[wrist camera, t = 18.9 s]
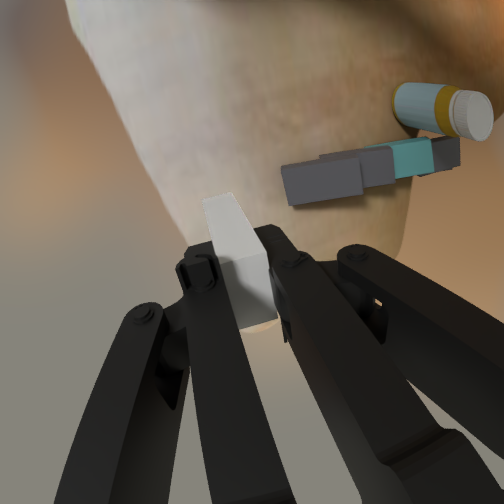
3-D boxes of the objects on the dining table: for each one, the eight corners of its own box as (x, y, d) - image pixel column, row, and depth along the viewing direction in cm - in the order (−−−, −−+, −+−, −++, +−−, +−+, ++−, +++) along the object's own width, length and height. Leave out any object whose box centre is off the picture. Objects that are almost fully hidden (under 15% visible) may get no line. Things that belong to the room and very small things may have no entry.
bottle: (418, 80, 38) (492, 87, 25) (424, 122, 41) (496, 140, 28) (385, 84, 37) (461, 90, 24) (393, 129, 41) (466, 149, 28)
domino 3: (372, 183, 42) (434, 171, 39) (366, 150, 40) (430, 139, 37) (370, 178, 44) (429, 167, 41) (363, 147, 41) (425, 136, 38)
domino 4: (420, 176, 42) (460, 165, 43) (418, 145, 39) (459, 137, 40) (412, 173, 44) (452, 162, 44) (410, 143, 41) (451, 134, 42)
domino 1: (288, 206, 41) (363, 194, 39) (280, 170, 38) (358, 157, 36) (289, 200, 43) (360, 188, 40) (281, 166, 40) (355, 153, 38)
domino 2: (326, 193, 41) (395, 183, 39) (320, 158, 39) (392, 148, 37) (324, 188, 43) (391, 178, 41) (318, 155, 41) (387, 145, 39)
